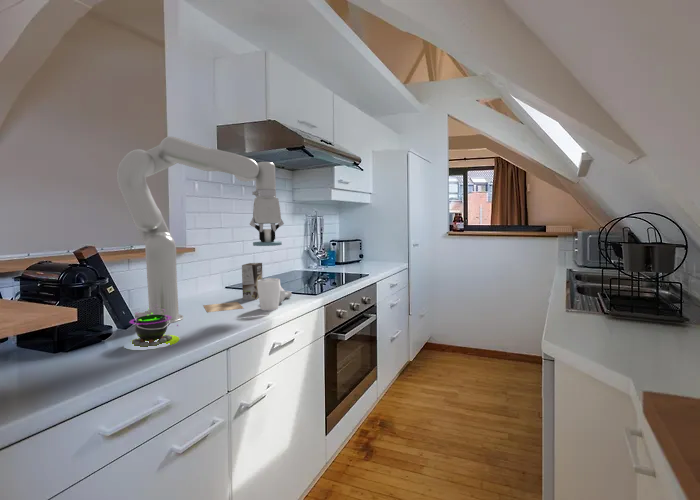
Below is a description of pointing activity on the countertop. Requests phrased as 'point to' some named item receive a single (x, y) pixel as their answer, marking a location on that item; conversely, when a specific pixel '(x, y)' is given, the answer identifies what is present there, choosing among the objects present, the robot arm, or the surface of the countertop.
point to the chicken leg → (284, 295)
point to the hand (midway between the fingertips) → (267, 241)
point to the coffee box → (251, 280)
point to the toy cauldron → (152, 330)
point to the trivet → (222, 307)
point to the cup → (269, 293)
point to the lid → (267, 240)
